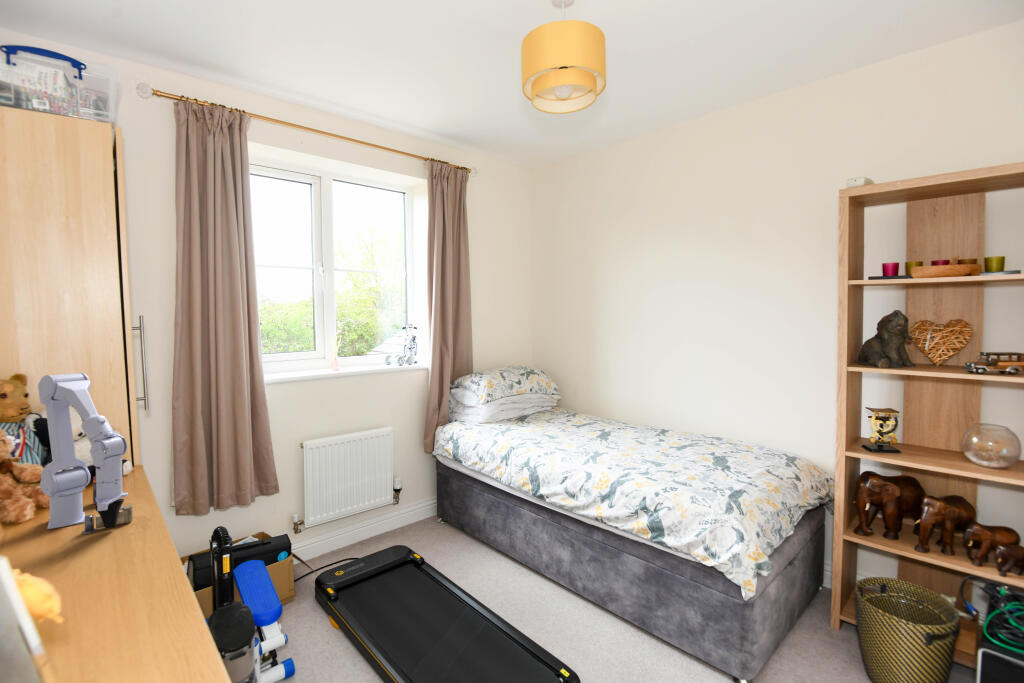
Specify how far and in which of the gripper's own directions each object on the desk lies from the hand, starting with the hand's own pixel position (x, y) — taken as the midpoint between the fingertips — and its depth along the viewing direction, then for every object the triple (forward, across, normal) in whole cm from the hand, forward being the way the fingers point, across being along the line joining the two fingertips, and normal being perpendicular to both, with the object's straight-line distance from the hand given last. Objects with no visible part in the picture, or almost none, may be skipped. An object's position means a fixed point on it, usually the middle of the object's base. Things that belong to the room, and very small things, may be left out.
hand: (110, 527), depth 138 cm
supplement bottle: (+1, +29, +8) cm, 30 cm away
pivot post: (+1, +2, +5) cm, 6 cm away
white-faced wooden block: (+1, +7, -2) cm, 7 cm away
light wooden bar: (+1, +4, 0) cm, 4 cm away
